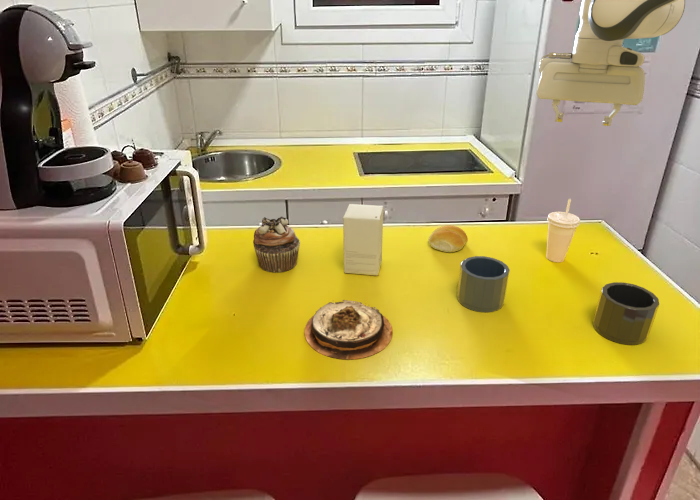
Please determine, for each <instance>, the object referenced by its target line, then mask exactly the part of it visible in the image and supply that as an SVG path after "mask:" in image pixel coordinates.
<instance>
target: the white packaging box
mask: <svg viewBox="0 0 700 500" xmlns="http://www.w3.org/2000/svg"><path fill="white" fill-rule="evenodd" d="M342 226H343V227H342V228H343V229H342V230H343V235H342V236H343V272H344V274H354V275H364V276H365V275H366V276H379V274H380V269H381V265H382V261H383V238H384V237H383V233H384V205H377V204H376V205H373V204H360V203H359V204H357V203H349V204H348V206H347V209H346V210H345V213H344V215H343V216H342Z"/></svg>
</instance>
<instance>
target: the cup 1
mask: <svg viewBox="0 0 700 500" xmlns="http://www.w3.org/2000/svg"><path fill="white" fill-rule="evenodd" d="M510 272H511V271H510V268H509V266H508V264H506V263H505V262H504V261H501V260H499V259H497V258H495V257H490V256H486V255H485V256H484V255H475V256H471V257H470V256H469V257H467V258H465V259H463V260H462V261H461V263H460V267H459V274H458V283H457V292H456V294H457V296H456V299H457V301H458V303H459V304H460V305H461V306H463V307H464V308H466V309H468V310H470V311H474V312H478V313H493V312H496V311H499V310H501V309H502V308H503V306H504V303H505V300H506V294H507V288H508V281H509V276H510Z"/></svg>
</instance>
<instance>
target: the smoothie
mask: <svg viewBox="0 0 700 500" xmlns="http://www.w3.org/2000/svg"><path fill="white" fill-rule="evenodd" d="M571 202H572V198H568V199H567V203H566V208H565V211H553V212H550V213H548V215H547V218H546V220H547V224H548V225H547V226H548V227H547V237H546V238H547V239H546V253H545V254H546V255H545V257H546V259H547V260H548V261H550V262H554V263H562V262H564V261H565V259H566V256H567V254H568V252H569V248H570V246H571V243H572V241H573V238H574V235H575V232H576V230H577V228H578V227H579V226H580V224H581V218H580V217H579V216H578V215H576V214H573V213H571V212H570V207H571Z"/></svg>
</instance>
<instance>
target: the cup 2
mask: <svg viewBox="0 0 700 500" xmlns="http://www.w3.org/2000/svg"><path fill="white" fill-rule="evenodd" d="M659 307H660V301H659V298H658V296H656V295H655V294H654V293H653V292H652V291H650V290H648V289H646V288H645V287H643V286H640V285H637V284H634V283H629V282H623V281H622V282H621V281H620V282H617V281H616V282H615V281H614V282H609V283H606V284H605V285H604V286H603V287H602V288H601V290H600V294H599V298H598V302H597V305H596V309H595V313H594V316H593V321H592V325H593V329H594V330H595V331H596V332H597V333H598V335H600V336H601V337H603V338H605V339H607V340H608V341H611V342H614V343H616V344H620V345H625V346H626V345H627V346H637V345H638V346H639V345H642V344H644V343H645V342H646V341H647V340H648V337H649V336H650V333H651V330H652V327H653V324H654V322H655V318H656V315H657V312H658V310H659Z"/></svg>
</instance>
